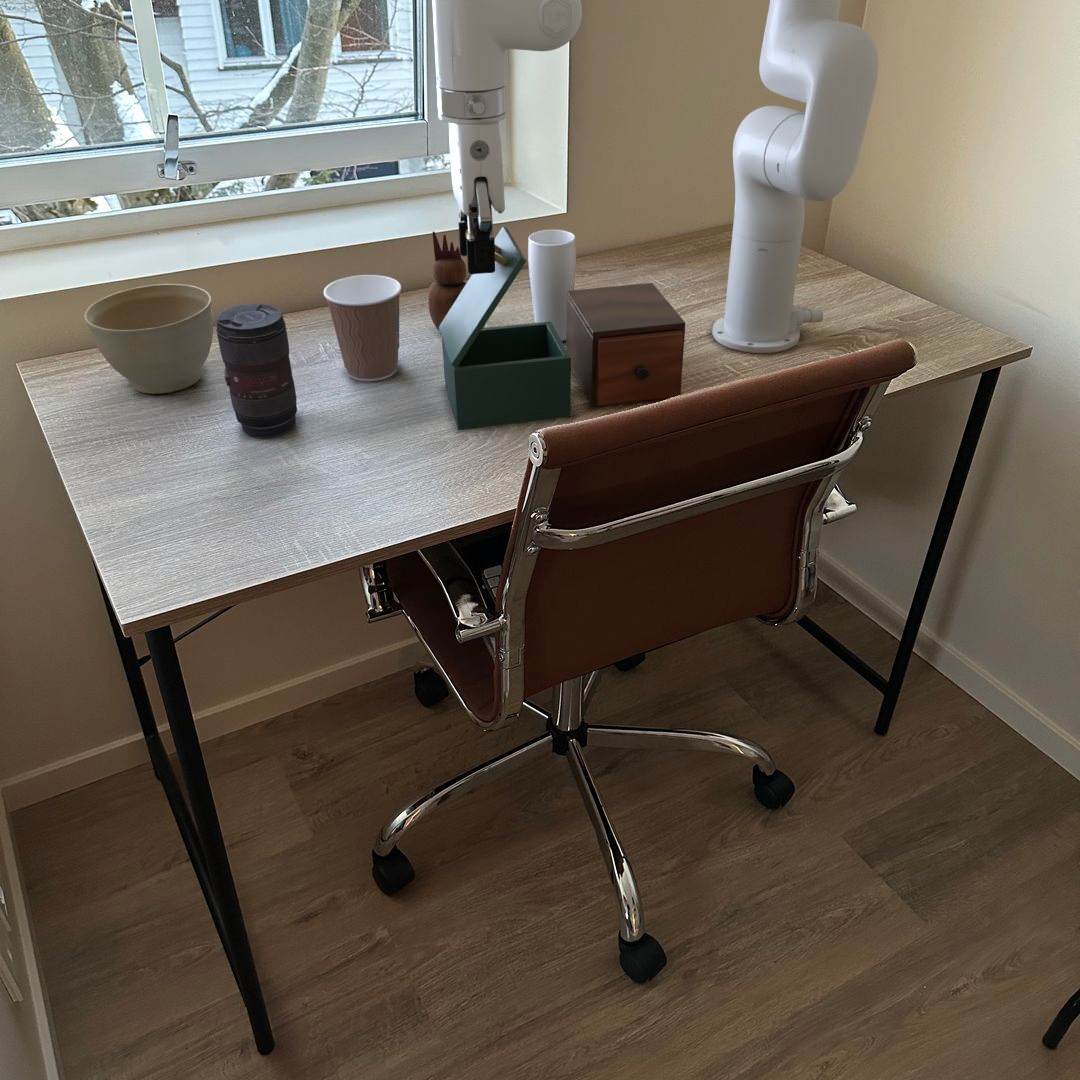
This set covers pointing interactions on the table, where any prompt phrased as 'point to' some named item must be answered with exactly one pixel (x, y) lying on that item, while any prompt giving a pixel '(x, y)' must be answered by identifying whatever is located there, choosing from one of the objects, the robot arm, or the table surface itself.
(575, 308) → the cabinet
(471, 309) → the lid
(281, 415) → the camera lens
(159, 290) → the planter bowl
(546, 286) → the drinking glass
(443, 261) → the wooden figurine
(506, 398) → the chest
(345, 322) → the coffee cup
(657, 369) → the drawer
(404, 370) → the table surface
